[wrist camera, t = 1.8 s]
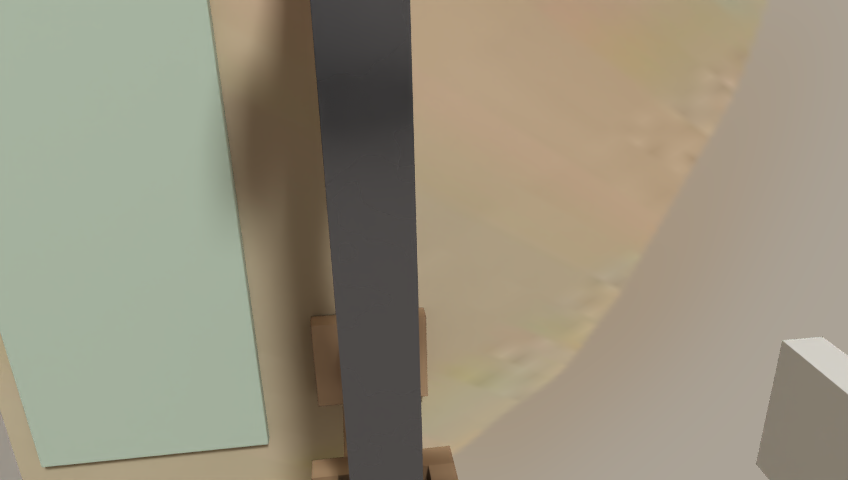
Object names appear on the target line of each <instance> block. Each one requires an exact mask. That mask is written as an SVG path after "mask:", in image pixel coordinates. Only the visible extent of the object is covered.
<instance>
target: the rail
mask: <svg viewBox="0 0 848 480" xmlns="http://www.w3.org/2000/svg"><path fill="white" fill-rule="evenodd" d="M310 4H311V16H312V29H313V41H314V53H315V65H316V77H317V89H318V102H319V114H320V126H321V138H322V150H323V162H324V175H325V187H326V199H327V211H328V223H329V235H330V248H331V260H332V272H333V284H334V296H335V308H336V321H337V333H338V345H339V357H340V369H341V381H342V394H343V406H344V418H345V430H346V442H347V454H348V467H349V479H350V480H423V454H422V418H421V381H420V345H419V309H418V273H417V237H416V201H415V164H414V128H413V92H412V56H411V20H410V0H310Z"/></svg>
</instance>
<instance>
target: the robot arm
mask: <svg viewBox="0 0 848 480" xmlns="http://www.w3.org/2000/svg"><path fill="white" fill-rule="evenodd" d="M756 465H757V466H758V467H759V468H760V469H761V470H762V472H763V473H764V474H765V475H766V476H767V477H768V479H770V480H848V356H847V355H846V354H845V353H843V352H842V351H840V350H839V349H838V348H837V347H835V346H834V345H832V344H831V343H830V342H829V341H827V340H826V339H824V338H823V337H816V338H804V339H793V340H783V341H782V344H781V349H780V354H779V358H778V364H777V368H776V373H775V377H774V382H773V387H772V391H771V396H770V401H769V406H768V410H767V415H766V420H765V424H764V429H763V434H762V438H761V443H760V448H759V453H758V457H757V462H756ZM0 480H22V477H21V474H20V471H19V468H18V465H17V462H16V459H15V455H14V452H13V449H12V446H11V443H10V440H9V437H8V434H7V430H6V427H5V424H4V421H3V418H2V415H1V412H0Z"/></svg>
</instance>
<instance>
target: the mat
mask: <svg viewBox="0 0 848 480" xmlns="http://www.w3.org/2000/svg"><path fill="white" fill-rule="evenodd" d="M0 333H1V336H2V339H3V343H4V346H5V349H6V352H7V356H8V359H9V362H10V365H11V369H12V372H13V375H14V378H15V382H16V385H17V388H18V391H19V395H20V398H21V401H22V404H23V408H24V411H25V414H26V417H27V421H28V424H29V427H30V430H31V434H32V437H33V440H34V443H35V447H36V450H37V453H38V456H39V460H40V463H41V466H42V467H50V466H59V465H69V464H79V463H89V462H99V461H108V460H118V459H128V458H138V457H148V456H157V455H167V454H177V453H187V452H197V451H206V450H216V449H226V448H236V447H246V446H255V445H265V444H268V443H269V432H268V424H267V417H266V410H265V402H264V395H263V388H262V381H261V373H260V366H259V359H258V352H257V344H256V337H255V330H254V322H253V315H252V308H251V301H250V293H249V286H248V279H247V271H246V264H245V257H244V250H243V242H242V235H241V228H240V220H239V213H238V206H237V199H236V191H235V184H234V177H233V170H232V162H231V155H230V148H229V140H228V133H227V126H226V119H225V111H224V104H223V97H222V89H221V82H220V75H219V68H218V60H217V53H216V46H215V38H214V31H213V24H212V17H211V9H210V2H209V0H0Z"/></svg>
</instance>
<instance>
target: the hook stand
mask: <svg viewBox="0 0 848 480" xmlns="http://www.w3.org/2000/svg"><path fill="white" fill-rule="evenodd" d="M418 309H419V345H420V381H421V396H428V387H427V344H426V315H425V312H424V308H418ZM311 335H312V345H313V355H314V365H315V375H316V385H317V395H318V405H319V406H327V405H338V404H343V394H342V381H341V369H340V357H339V345H338V333H337V321H336V315H327V316H314V317H311ZM343 428H344V457H340V458H330V459H321V460H313V461H312V480H350V479H349V467H348V454H347V442H346V430H345V418H344V406H343ZM422 454H423V480H458V477H457V473H456V469H455V465H454V461H453V457H452V453H451V449H450V446H444V447H435V448H425V449H422Z"/></svg>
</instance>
